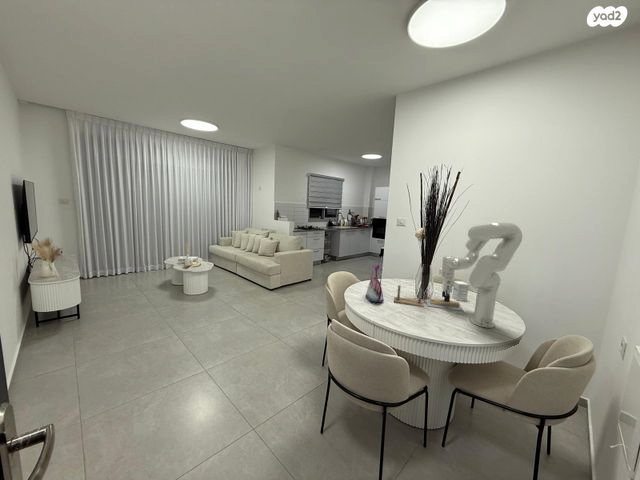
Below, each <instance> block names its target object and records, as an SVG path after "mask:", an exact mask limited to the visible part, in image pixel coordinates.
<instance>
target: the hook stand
mask: <svg viewBox="0 0 640 480" xmlns="http://www.w3.org/2000/svg"><path fill="white" fill-rule="evenodd" d="M422 294H423V290H422V287H419V288H418V296H417V297H418V299H415V298H406V297H402V296H401V284H399V285H397V294H396V295H397V296H394V302H393V303H394V304H400V305H406V306H407V305H408V306H415V307H423V308H424V307H425V305H424V300H422Z"/></svg>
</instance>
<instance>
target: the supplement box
mask: <svg viewBox="0 0 640 480" xmlns="http://www.w3.org/2000/svg"><path fill="white" fill-rule="evenodd" d="M469 284H470V283H467V282H466V281H462V280H461V281H460V280H459V281H458V280H453V286H452V295H451V296H452V298H453V299H455V300H456V302H467V301H468V293H469V286H470V285H469Z"/></svg>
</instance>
